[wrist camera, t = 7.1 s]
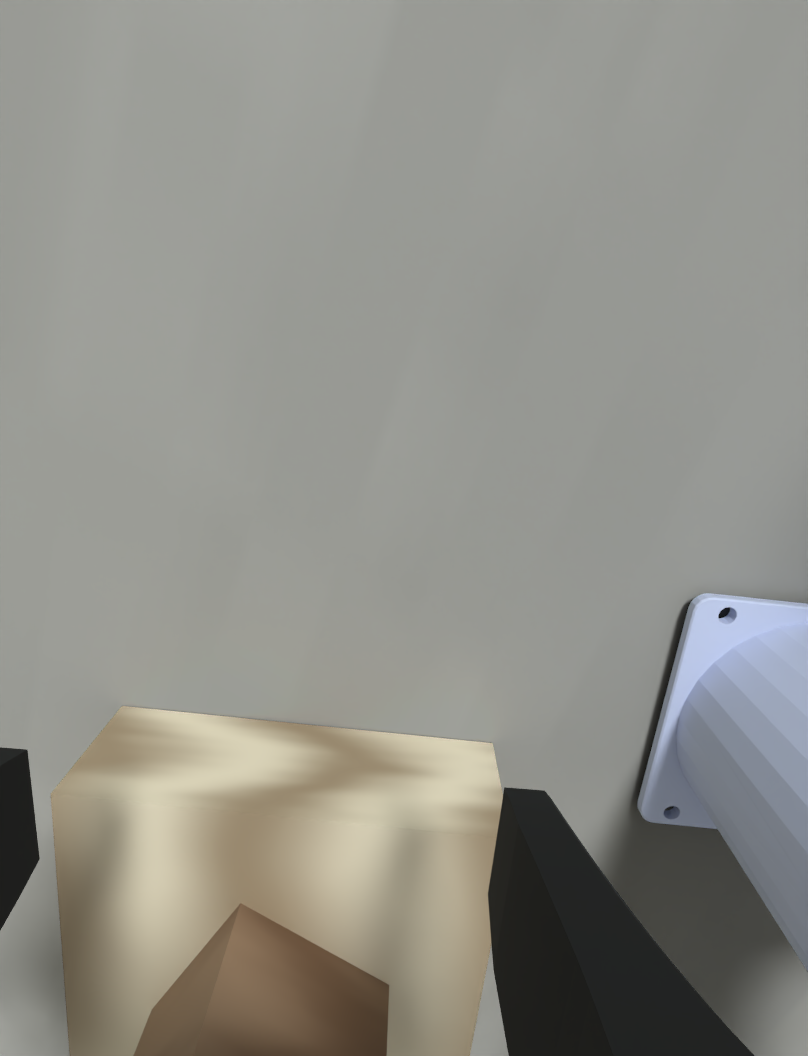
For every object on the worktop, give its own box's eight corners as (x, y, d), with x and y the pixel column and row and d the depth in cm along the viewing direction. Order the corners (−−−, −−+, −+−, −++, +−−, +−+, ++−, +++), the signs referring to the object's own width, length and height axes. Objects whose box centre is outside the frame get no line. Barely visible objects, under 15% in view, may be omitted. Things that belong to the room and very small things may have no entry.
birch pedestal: (492, 743, 20) (511, 839, 16) (445, 1011, 23) (452, 1143, 19) (121, 706, 20) (50, 793, 16) (130, 982, 23) (73, 1109, 19)
